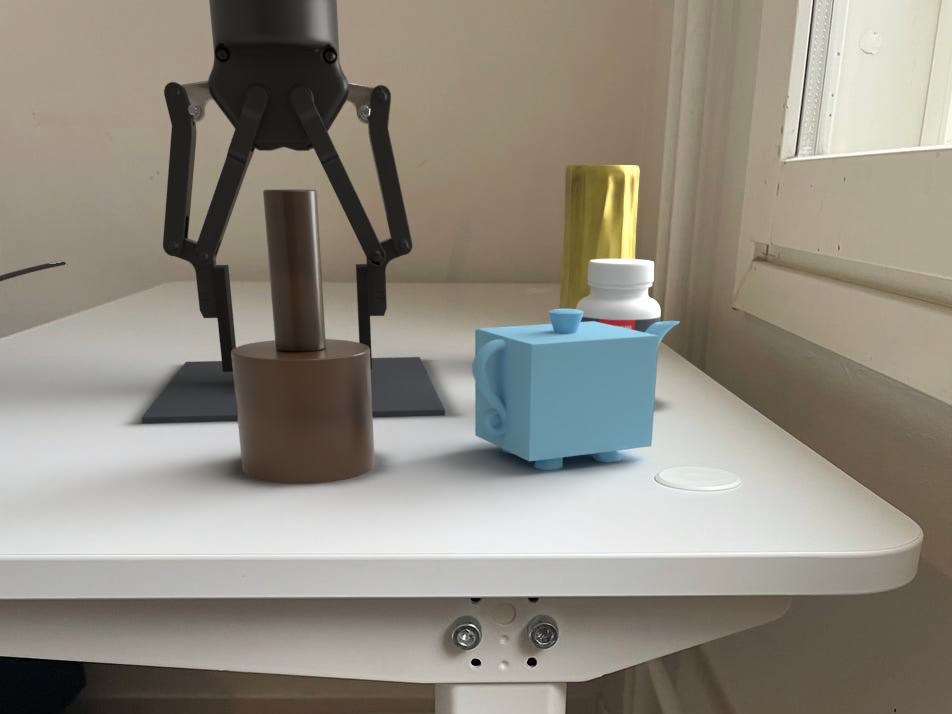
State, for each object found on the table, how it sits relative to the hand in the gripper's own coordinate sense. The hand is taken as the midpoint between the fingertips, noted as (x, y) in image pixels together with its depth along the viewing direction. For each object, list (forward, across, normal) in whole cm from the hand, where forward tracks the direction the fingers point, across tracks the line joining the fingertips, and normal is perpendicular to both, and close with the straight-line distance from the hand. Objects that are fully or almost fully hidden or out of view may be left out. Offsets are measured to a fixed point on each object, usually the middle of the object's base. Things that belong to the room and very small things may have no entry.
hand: (298, 366), depth 70 cm
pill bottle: (+2, +20, -8) cm, 22 cm away
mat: (+2, 0, 0) cm, 2 cm away
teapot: (+2, +15, -20) cm, 25 cm away
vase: (+2, +22, +6) cm, 23 cm away
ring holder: (+2, +1, -21) cm, 21 cm away
